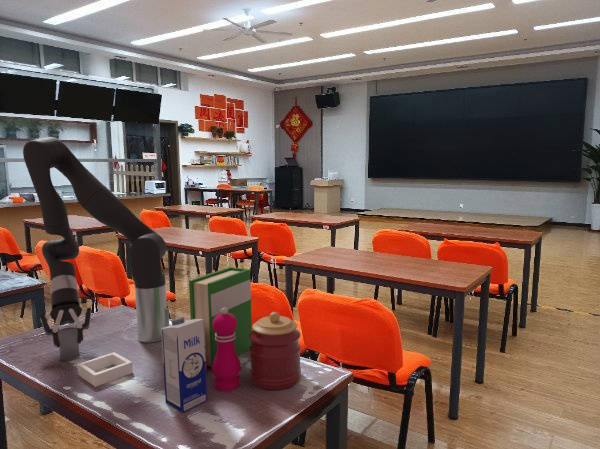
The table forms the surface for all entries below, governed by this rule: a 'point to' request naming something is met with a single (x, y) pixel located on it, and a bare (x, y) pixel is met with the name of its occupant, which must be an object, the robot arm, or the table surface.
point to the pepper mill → (225, 352)
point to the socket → (96, 379)
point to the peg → (68, 343)
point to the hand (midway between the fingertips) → (69, 344)
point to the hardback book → (223, 306)
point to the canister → (275, 353)
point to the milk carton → (184, 363)
